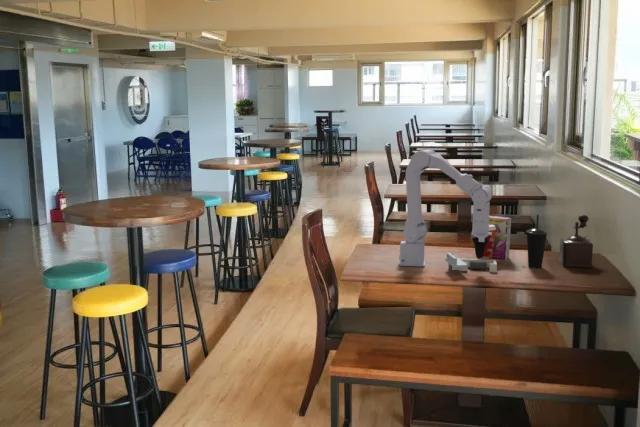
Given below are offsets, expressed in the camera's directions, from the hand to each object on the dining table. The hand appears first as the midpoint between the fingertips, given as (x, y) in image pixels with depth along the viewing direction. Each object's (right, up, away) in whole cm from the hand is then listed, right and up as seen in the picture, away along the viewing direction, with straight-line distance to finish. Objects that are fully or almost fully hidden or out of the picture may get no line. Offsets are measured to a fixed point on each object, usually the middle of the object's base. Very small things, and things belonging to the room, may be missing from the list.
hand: (479, 257), depth 244 cm
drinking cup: (+23, -4, +9) cm, 25 cm away
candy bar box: (+12, -2, +24) cm, 27 cm away
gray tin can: (+1, -3, +7) cm, 8 cm away
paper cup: (+7, -3, +20) cm, 21 cm away
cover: (-8, -2, 0) cm, 9 cm away
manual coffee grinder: (+41, -3, +15) cm, 43 cm away
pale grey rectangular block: (-1, -5, +6) cm, 8 cm away
